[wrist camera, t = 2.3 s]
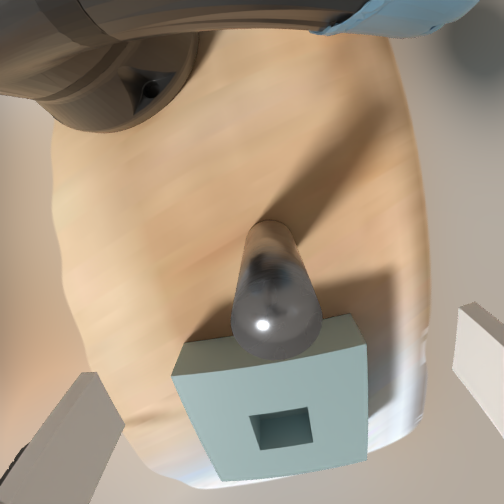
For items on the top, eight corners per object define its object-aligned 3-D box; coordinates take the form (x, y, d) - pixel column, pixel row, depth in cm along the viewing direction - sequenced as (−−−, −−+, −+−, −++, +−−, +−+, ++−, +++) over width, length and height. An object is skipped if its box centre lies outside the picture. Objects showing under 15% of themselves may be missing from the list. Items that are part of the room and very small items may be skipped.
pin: (246, 219, 27) (230, 277, 13) (294, 221, 27) (327, 281, 13) (245, 265, 28) (230, 358, 14) (291, 267, 28) (316, 360, 14)
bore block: (184, 342, 30) (170, 376, 25) (350, 313, 29) (366, 343, 24) (225, 447, 34) (221, 481, 29) (356, 427, 33) (366, 460, 28)
